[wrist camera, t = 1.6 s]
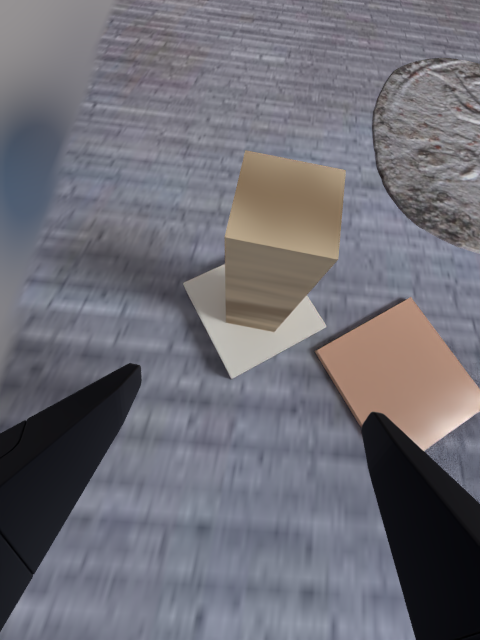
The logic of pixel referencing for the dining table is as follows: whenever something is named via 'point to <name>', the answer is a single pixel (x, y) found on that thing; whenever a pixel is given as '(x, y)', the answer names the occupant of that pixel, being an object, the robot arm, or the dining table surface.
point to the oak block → (279, 237)
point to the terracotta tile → (402, 374)
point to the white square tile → (244, 342)
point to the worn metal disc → (433, 146)
